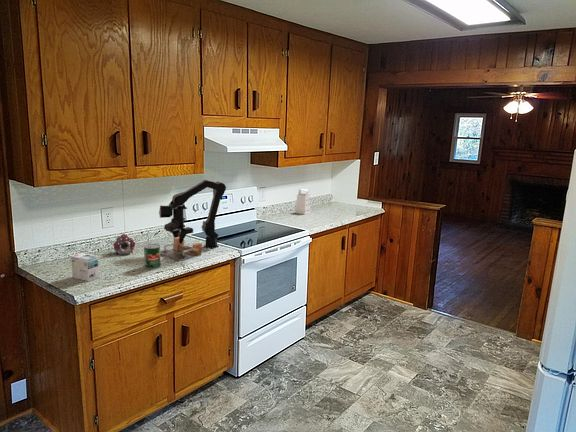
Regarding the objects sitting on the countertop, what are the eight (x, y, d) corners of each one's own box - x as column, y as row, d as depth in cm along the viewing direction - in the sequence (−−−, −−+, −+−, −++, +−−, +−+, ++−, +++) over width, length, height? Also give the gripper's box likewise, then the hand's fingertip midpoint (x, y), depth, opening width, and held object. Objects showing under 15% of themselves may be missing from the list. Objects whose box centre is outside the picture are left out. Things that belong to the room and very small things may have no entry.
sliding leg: (180, 247, 257) (180, 236, 256) (183, 248, 256) (183, 237, 254) (162, 252, 247) (162, 240, 245) (166, 253, 245) (166, 241, 244)
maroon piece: (114, 253, 235) (112, 232, 240) (113, 260, 244) (111, 240, 249) (136, 251, 241) (134, 231, 245) (134, 258, 250) (132, 238, 254)
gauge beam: (178, 247, 258) (178, 237, 257) (202, 254, 247) (202, 243, 246) (160, 252, 248) (160, 241, 247) (185, 259, 237) (185, 248, 235)
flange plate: (167, 250, 251) (167, 249, 251) (191, 258, 240) (191, 256, 240) (155, 253, 245) (155, 252, 245) (180, 261, 234) (180, 259, 234)
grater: (300, 210, 382) (301, 188, 378) (310, 212, 377) (311, 189, 373) (294, 212, 373) (295, 189, 369) (305, 214, 368) (306, 190, 364)
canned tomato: (154, 263, 229) (153, 243, 227) (163, 266, 225) (163, 245, 222) (141, 266, 223) (140, 246, 220) (151, 270, 218) (150, 249, 216)
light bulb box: (100, 277, 206) (99, 255, 204) (88, 281, 200) (87, 259, 198) (83, 273, 210) (82, 252, 208) (71, 277, 204) (70, 255, 202)
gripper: (156, 216, 249) (156, 242, 252) (178, 221, 239) (178, 249, 242) (171, 213, 258) (172, 239, 261) (193, 218, 248) (194, 244, 251)
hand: (178, 243), depth 254 cm, fingers closed on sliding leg, 3 cm apart
